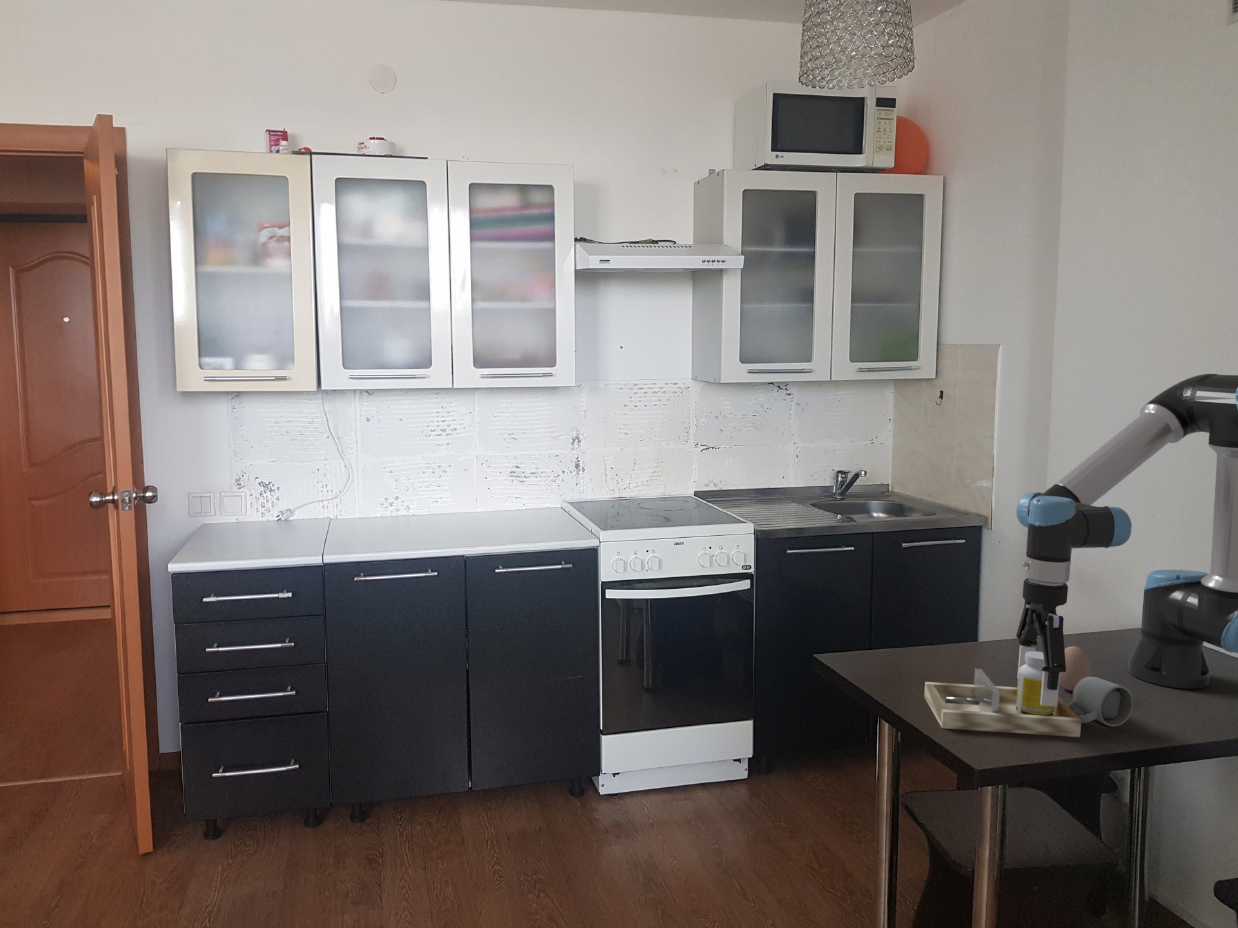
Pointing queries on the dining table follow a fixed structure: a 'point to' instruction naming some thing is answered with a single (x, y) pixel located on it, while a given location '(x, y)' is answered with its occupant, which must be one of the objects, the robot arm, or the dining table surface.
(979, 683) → the pusher
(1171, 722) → the dining table surface
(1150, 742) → the dining table surface
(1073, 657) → the egg
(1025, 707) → the pill bottle
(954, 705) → the wooden tray
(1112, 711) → the ceramic mug
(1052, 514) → the robot arm
